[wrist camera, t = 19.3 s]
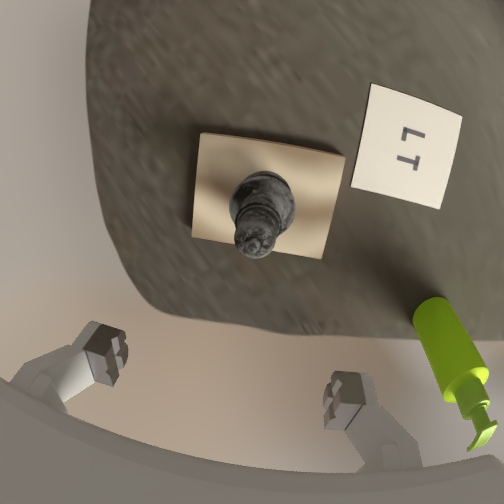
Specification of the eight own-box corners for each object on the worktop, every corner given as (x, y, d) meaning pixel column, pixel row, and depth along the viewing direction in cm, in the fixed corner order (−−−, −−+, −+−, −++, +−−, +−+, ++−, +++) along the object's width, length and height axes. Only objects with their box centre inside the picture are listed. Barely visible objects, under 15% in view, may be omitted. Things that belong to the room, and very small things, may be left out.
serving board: (204, 132, 29) (200, 133, 28) (342, 155, 29) (345, 157, 28) (195, 231, 34) (191, 236, 33) (320, 252, 34) (321, 259, 33)
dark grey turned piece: (288, 229, 31) (288, 297, 21) (231, 219, 32) (203, 281, 21) (300, 173, 29) (308, 216, 18) (239, 163, 29) (210, 199, 18)
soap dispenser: (410, 340, 38) (451, 461, 20) (413, 302, 35) (469, 431, 18) (446, 330, 37) (497, 443, 19) (451, 292, 34) (519, 409, 16)
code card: (371, 83, 25) (371, 83, 25) (461, 116, 25) (462, 116, 25) (350, 186, 30) (350, 186, 30) (439, 209, 30) (439, 209, 30)
